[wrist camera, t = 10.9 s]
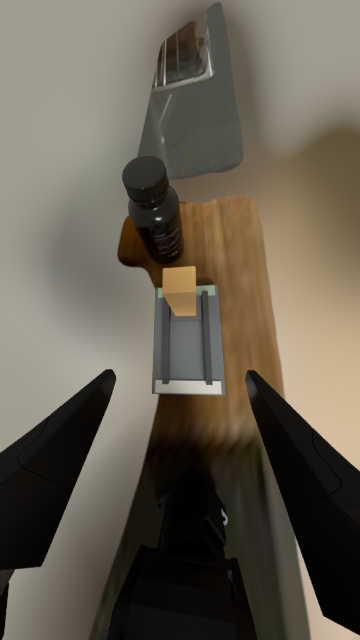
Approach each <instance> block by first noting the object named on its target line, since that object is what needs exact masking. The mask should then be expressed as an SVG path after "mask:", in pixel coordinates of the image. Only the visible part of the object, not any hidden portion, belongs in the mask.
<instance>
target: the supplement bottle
mask: <svg viewBox="0 0 360 640" xmlns="http://www.w3.org/2000/svg"><path fill="white" fill-rule="evenodd" d="M122 180H123V183H124V186H125V188H126V190H127V194H128V196H129V198H130V199H129V204H128V210H129V215H130V218H131V220H132V222H133V224H134V226H135V228H136V230H137V232H138V234H139V236H140V238H141V240H142V242H143V244H144V246H145V248H146V250H147V252H148V254H149V256H150V257H151V258H152V259H153V260H154V261H155V262H158V263H161V264H168V263H171V262H174V261H175V260H177V259H178V258H179V257H180V256H181V254H182V252H183V249H184V240H183V231H182V223H181V214H180V206H179V199H178V196H177V194H176V192H175V191H174V189H173V188H172V187H171V186H170V185H169V181H168V177H167V174H166V168H165V165H164V162H163V161H162V160H161V159H160V158H159V157H156V156H153V155H143V156H139V157H136V158H135V159H133V160H131V161H130V162H129V163H128V164H127V165H126V167H125V168H124V170H123V174H122Z"/></svg>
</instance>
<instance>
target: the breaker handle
mask: <svg viewBox="0 0 360 640" xmlns="http://www.w3.org/2000/svg"><path fill="white" fill-rule="evenodd" d="M162 294H163V295H164V297H165V299H166V301H167V302H168V304H169V306H170V307H171V321H201V298H200V296H196V271H195V266H191V267H176V268H163V290H162Z"/></svg>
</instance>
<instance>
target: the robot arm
mask: <svg viewBox="0 0 360 640" xmlns="http://www.w3.org/2000/svg"><path fill="white" fill-rule="evenodd" d="M115 382H116V375H115V373H114V372H113V370H112V369H107V370H105V371H103V372H102V373H101V374H100V375H99V376H97V377H96V378H95V379H94V380H92V381H91V382H90V383H89V384H87V385H86V386H85V387H84V388H83V389H81V390H80V391H79V392H78V393H76V394H75V395H74V396H73V397H72V398H70V399H69V400H68V401H66V402H65V403H64V404H63V405H62V406H60V407H59V408H58V409H57V410H55V411H54V412H53V413H52V414H51V415H50V416H48V417H47V418H45V419H44V420H43V421H42V422H41V423H39V424H38V425H37V426H35V427H34V428H33V429H32V430H31V431H29V432H28V433H26V434H25V435H24V436H22V437H21V438H20V439H18V440H17V441H16V442H14V443H13V444H12V445H10V446H9V447H8V448H6V449H5V450H4V451H2V452H1V453H0V640H2V638H3V635H4V629H5V619H6V609H7V598H8V589H9V583H8V582H9V580H10V578H11V576H12V574H13V573H14V571H15V569H23V568H34V567H41V566H42V564H43V562H44V559H45V557H46V555H47V552H48V550H49V547H50V545H51V543H52V540H53V538H54V535H55V533H56V530H57V528H58V526H59V523H60V521H61V518H62V516H63V514H64V511H65V509H66V506H67V504H68V501H69V499H70V497H71V494H72V491H73V489H74V487H75V484H76V482H77V479H78V477H79V474H80V472H81V469H82V467H83V465H84V462H85V460H86V457H87V455H88V453H89V450H90V448H91V445H92V443H93V440H94V438H95V435H96V433H97V431H98V428H99V426H100V424H101V421H102V419H103V416H104V414H105V411H106V409H107V407H108V404H109V401H110V398H111V395H112V391H113V389H114V385H115ZM245 382H246V386H247V391H248V395H249V399H250V404H251V407H252V411H253V414H254V417H255V419H256V422H257V425H258V428H259V431H260V434H261V437H262V440H263V443H264V446H265V449H266V451H267V454H268V457H269V460H270V463H271V466H272V469H273V472H274V475H275V478H276V481H277V483H278V486H279V489H280V492H281V495H282V498H283V501H284V504H285V507H286V510H287V512H288V516H289V519H290V521H291V524H292V527H293V530H294V533H295V536H296V539H297V542H298V545H299V548H300V550H301V553H302V556H303V559H304V562H305V565H306V568H307V571H308V574H309V577H310V580H311V583H312V585H313V588H314V591H315V594H316V597H317V600H318V603H319V606H320V608H321V611H322V614H323V616H324V617H326V618H328V619H330V620H332V621H334V622H335V623H337V624H339V625H341V626H343V627H345V628H347V629H349V630H350V631H352V632H354V633H356V634H358V635H360V471H359V470H358V469H356V468H355V467H354V466H353V465H352V464H351V463H350V462H348V461H347V460H346V459H345V458H344V457H343V456H342V455H341V454H340V453H339V452H338V451H336V450H335V449H334V448H333V447H332V446H331V445H330V444H329V443H328V442H327V441H326V440H325V439H324V438H323V437H322V436H321V435H320V434H319V433H318V432H317V431H316V430H314V429H313V428H312V427H311V426H310V425H309V424H308V423H307V422H306V421H305V420H304V419H303V418H302V417H301V416H300V415H299V414H298V413H297V412H296V411H295V410H294V409H293V408H292V407H291V406H290V405H289V404H288V403H287V402H286V401H285V400H284V399H283V398H282V397H281V396H280V395H279V394H278V393H277V392H276V391H275V390H274V389H273V388H272V387H271V386H270V385H269V384H268V383H267V382H266V381H265V380H264V379H263V378H262V377H261V376H260V375H259V374H258V373H257V372H256V371H254V370H248V371H247V374H246V378H245ZM191 471H192V472H194V473H193V474H191V473H190V472H191ZM159 503H160V504H161V505H159ZM156 509H157V511H158V512H159V514H160V516H161V517H162V519H163V522H162V527H161V532H160V537H159V542H158V547H157V549H155V548H148V547H147V545H142V544H141V546H140V548H139V550H138V553H137V555H136V556H135V559H134V561H133V563H132V566H131V568H130V570H129V573H128V575H127V577H126V579H125V582H124V584H123V586H122V589H121V591H120V593H119V596H118V598H117V600H116V603H115V605H114V608H113V612H112V616H111V621H110V624H109V625H108V627H107V628H106V630H105V632H104V636H103V639H102V640H257V636H256V632H255V627H254V622H253V618H252V614H251V610H250V606H249V602H248V599H247V595H246V591H245V587H244V583H243V580H242V576H241V572H240V568H239V564H238V561H237V558H231V560H230V559H225V552H224V549H225V548H226V535H225V529H224V525H225V524H226V523H227V521H228V519H227V514H226V512H225V510H224V509H223V508H222V506H221V504H220V500H219V499H218V498H217V496H216V495H215V493H214V492H213V491H212V489H211V488H210V486H209V485H208V484H207V482H205V481H203V479H202V478H201V476H200V475H199V474H198V472H197V471H196V469H195V468H194V467H190V468H189V469H188V470H187V471H186V472H185V473H184V474H183V475H182V476H180V477H179V478H178V479H177V480H176V481H175V482H174V483H173V484H172V485H171V486H170V487H169V488H168V489H167V490H166V491H165V492H164V493H163V494H162V495H161V496H160V497H159V498H158V499H157V502H156ZM223 516H224V518H223Z"/></svg>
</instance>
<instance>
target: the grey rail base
mask: <svg viewBox="0 0 360 640" xmlns="http://www.w3.org/2000/svg"><path fill="white" fill-rule="evenodd" d="M162 290H163V287H162V288H156V292H155V322H154V351H153V352H154V353H153V380H152V394H185V395H223V396H225V384H224V369H223V354H222V340H221V325H220V311H219V296H218V284H216V285H198V286H196V296H200V298H201V321H171V307H170V306H169V304H168V302H167V301H166V299H165V297H164V295H163V294H162Z"/></svg>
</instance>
